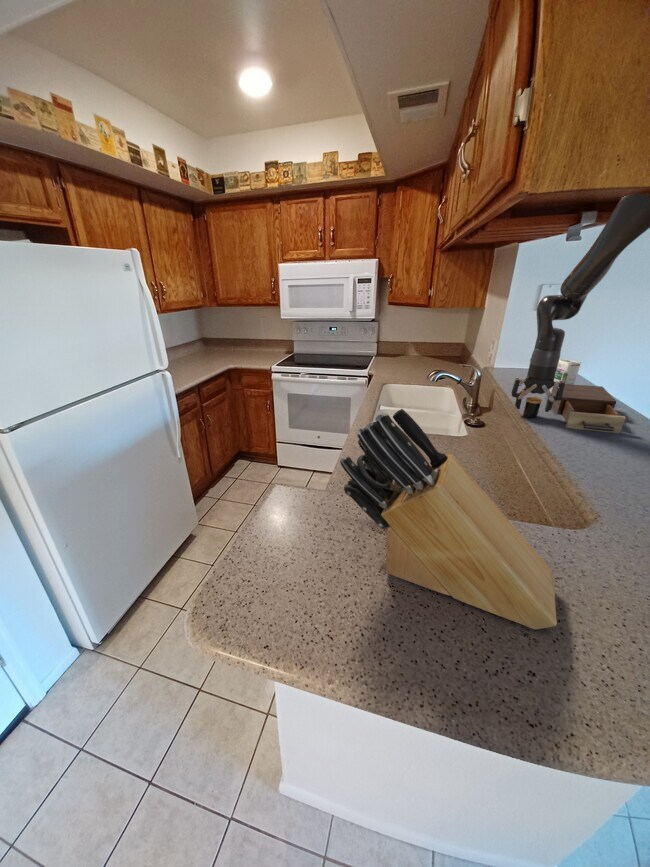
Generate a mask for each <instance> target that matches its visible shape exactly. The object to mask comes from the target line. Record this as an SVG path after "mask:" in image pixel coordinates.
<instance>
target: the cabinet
mask: <svg viewBox="0 0 650 867" xmlns="http://www.w3.org/2000/svg"><path fill="white" fill-rule="evenodd" d="M556 392H557V388H556V386H555V385H554V386H553V388H552V392H551V394H552V396H556ZM564 400H573V401H586V402H598V403H609V404H610V405H611V406H612V407H613V408H614V409H615V407H616V404H617V400H616V399H615V398H614V397H613V396H612V395H611V393H609V392H608V390H607V389H605V388H604V386H601V385H585V384H584V385H583V384H574V385H570V384H565V386H564V390H563V395H562V399H561V400H560V401H558V400H557V401H554V402H553V405H552V407H553V408H554V410H555V413H556V414H557V415H561V414H562V413H561V409H562V406H563V403H564Z"/></svg>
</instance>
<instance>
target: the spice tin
mask: <svg viewBox="0 0 650 867" xmlns="http://www.w3.org/2000/svg"><path fill="white" fill-rule="evenodd" d="M542 401H543V400H542V398H540V397H537V396H528V397H526V400H525V404H524V409H523V413H522V417H523V418H526V419H531V420H535V419H537V418H538V415H539V411H540V407H541V405H542V404H541V403H542Z"/></svg>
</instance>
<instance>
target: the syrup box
mask: <svg viewBox="0 0 650 867" xmlns="http://www.w3.org/2000/svg"><path fill="white" fill-rule="evenodd" d="M581 363H582V362H580V361H575V360H572V359H569V358H563V359H559V363H558V366H557V370H556V373H555V377H554V382H559V381H563V382H564V384H570V385H575V383H576V379H577V375H578V373H579V370H580V367H581ZM552 388H553V387H552ZM552 388H550V389H549V391H550V393H551V392H552Z"/></svg>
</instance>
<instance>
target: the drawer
mask: <svg viewBox="0 0 650 867" xmlns="http://www.w3.org/2000/svg"><path fill="white" fill-rule="evenodd" d="M560 414H561V415H562V417H563V419H564V421H565V428H566V429H574V430H575V429H576V430H585V431H595V432H596V431H597V432H605V433H613V434H620V433H621V431H622V429H623V426H624V425H625V424H624V423H625V421H626V419H627V417H626V416H625V415H620V414H619V412H617V411H616V409H615V407H614V408H613V407H612V406H611V405H610V404H609V403H598V402H586V401H573V400H564V403H563V406H562V409H561V413H560Z"/></svg>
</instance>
